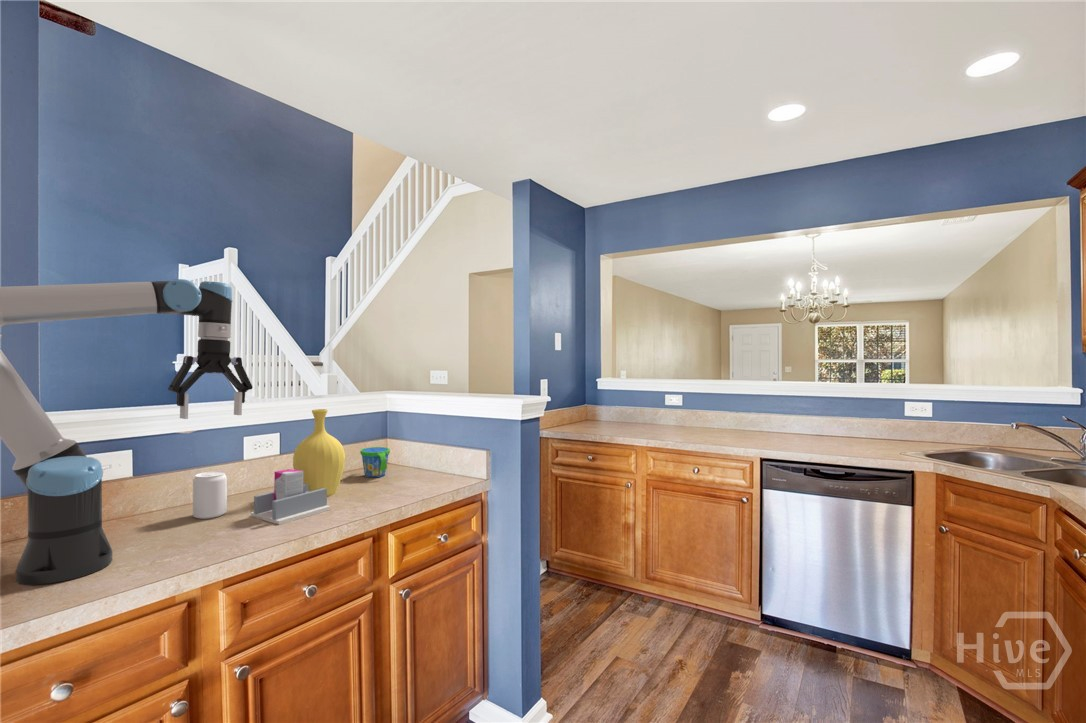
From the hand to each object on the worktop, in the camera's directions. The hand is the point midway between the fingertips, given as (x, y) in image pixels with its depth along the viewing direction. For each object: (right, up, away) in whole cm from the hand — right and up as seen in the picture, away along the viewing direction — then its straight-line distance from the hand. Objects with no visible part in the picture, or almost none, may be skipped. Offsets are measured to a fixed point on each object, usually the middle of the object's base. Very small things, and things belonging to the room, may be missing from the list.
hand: (211, 416), depth 139 cm
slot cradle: (+17, -29, +10) cm, 35 cm away
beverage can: (-5, -29, +7) cm, 31 cm away
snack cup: (+26, -29, +56) cm, 68 cm away
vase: (+16, -29, +31) cm, 45 cm away
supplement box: (+16, -29, +10) cm, 34 cm away
